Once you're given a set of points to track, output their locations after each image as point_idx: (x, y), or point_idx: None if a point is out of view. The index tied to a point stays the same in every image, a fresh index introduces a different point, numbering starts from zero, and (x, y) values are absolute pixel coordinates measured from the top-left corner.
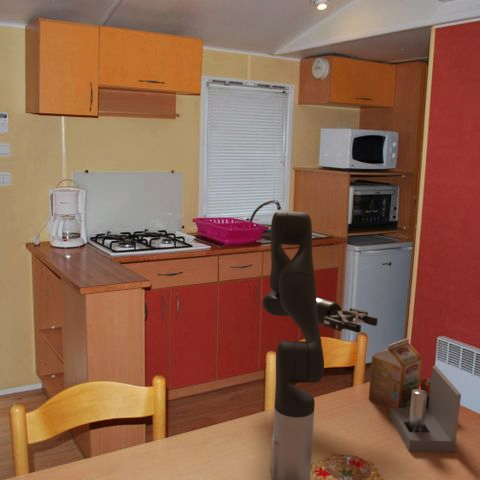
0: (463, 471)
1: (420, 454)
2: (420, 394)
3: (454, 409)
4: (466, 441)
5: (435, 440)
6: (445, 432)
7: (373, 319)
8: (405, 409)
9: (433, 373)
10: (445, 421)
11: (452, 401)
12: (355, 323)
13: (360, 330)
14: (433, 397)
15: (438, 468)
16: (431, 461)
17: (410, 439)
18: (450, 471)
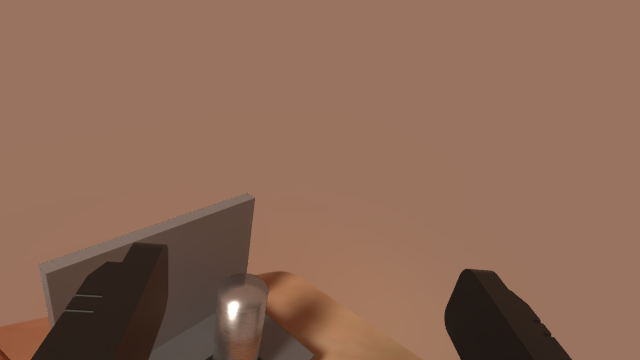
0: (291, 282)
1: None
2: (254, 284)
3: (249, 233)
4: None
5: (266, 316)
6: (214, 312)
7: (157, 275)
8: None
9: (73, 283)
10: (209, 296)
11: (238, 227)
12: (505, 307)
13: (452, 303)
14: None
15: (319, 310)
16: (307, 326)
17: (309, 355)
18: (310, 294)
